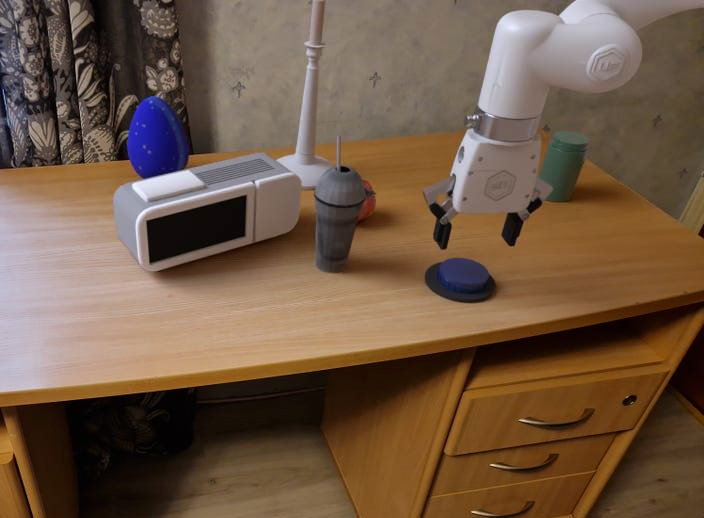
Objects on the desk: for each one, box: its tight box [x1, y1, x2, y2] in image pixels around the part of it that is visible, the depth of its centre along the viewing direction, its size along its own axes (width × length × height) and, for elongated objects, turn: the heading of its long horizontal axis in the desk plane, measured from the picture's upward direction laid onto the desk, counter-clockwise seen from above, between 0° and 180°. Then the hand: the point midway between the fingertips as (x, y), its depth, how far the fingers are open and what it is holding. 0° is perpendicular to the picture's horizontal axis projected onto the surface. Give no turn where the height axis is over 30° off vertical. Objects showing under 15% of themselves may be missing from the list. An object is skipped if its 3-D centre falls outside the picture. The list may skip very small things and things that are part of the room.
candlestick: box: [275, 0, 336, 191], centre depth 117 cm, size 13×13×30 cm
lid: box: [437, 257, 490, 294], centre depth 98 cm, size 7×7×2 cm
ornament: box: [126, 95, 190, 180], centre depth 119 cm, size 11×9×15 cm
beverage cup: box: [313, 133, 366, 274], centre depth 96 cm, size 7×7×20 cm
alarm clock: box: [112, 151, 302, 272], centre depth 103 cm, size 27×9×12 cm, turn 119°
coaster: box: [424, 261, 497, 304], centre depth 99 cm, size 10×10×1 cm
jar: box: [533, 130, 591, 203], centre depth 118 cm, size 6×6×10 cm
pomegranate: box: [357, 179, 378, 222], centre depth 112 cm, size 7×7×10 cm
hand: (473, 243), depth 95 cm, fingers open, 9 cm apart
